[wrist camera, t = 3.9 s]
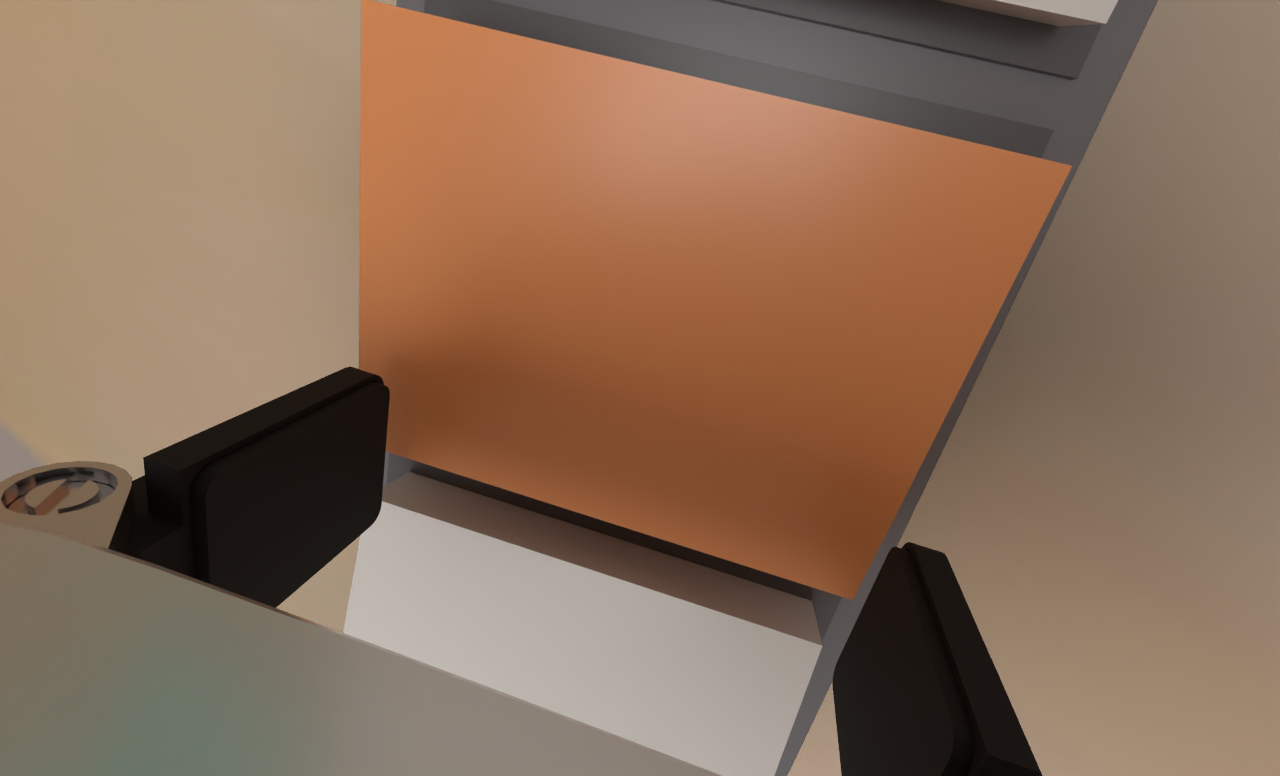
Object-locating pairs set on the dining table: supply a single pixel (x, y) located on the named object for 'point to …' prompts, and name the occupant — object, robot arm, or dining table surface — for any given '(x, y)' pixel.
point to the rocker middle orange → (671, 289)
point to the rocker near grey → (1047, 10)
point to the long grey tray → (857, 84)
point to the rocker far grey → (585, 625)
